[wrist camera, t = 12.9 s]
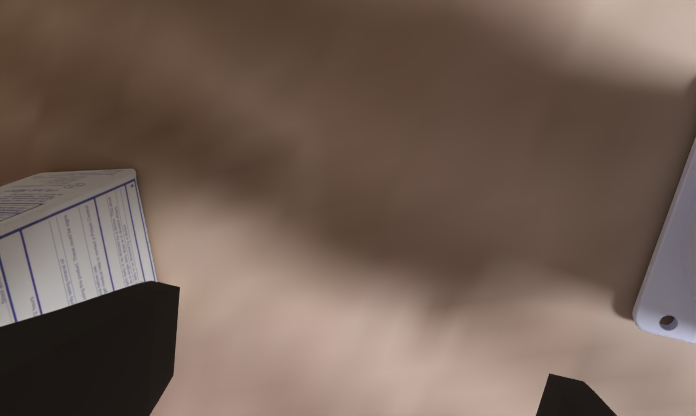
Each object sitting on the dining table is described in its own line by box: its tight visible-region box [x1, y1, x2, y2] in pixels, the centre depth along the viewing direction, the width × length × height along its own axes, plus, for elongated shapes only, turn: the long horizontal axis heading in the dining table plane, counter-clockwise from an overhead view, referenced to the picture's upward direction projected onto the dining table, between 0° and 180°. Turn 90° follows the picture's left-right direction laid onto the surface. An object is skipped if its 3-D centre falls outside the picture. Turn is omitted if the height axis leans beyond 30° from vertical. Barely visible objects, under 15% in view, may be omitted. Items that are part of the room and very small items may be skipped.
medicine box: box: [0, 169, 157, 327], centre depth 19 cm, size 8×4×9 cm, turn 6°
